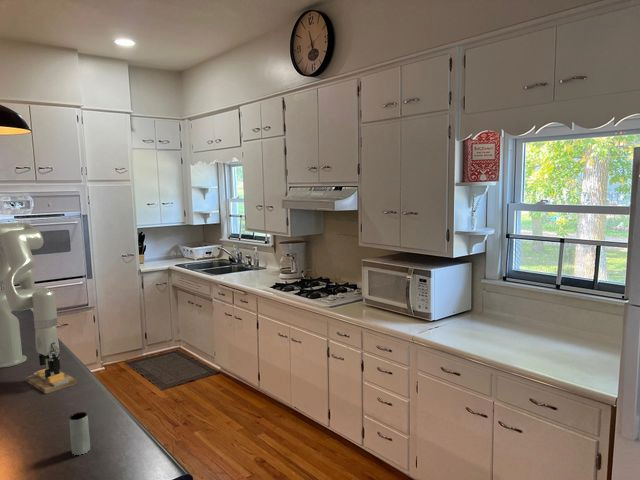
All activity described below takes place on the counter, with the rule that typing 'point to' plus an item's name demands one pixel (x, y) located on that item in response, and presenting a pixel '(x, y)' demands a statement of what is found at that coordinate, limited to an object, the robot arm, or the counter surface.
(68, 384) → the din panel
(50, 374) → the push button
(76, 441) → the planter
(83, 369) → the counter surface
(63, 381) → the din rail
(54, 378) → the end stops
